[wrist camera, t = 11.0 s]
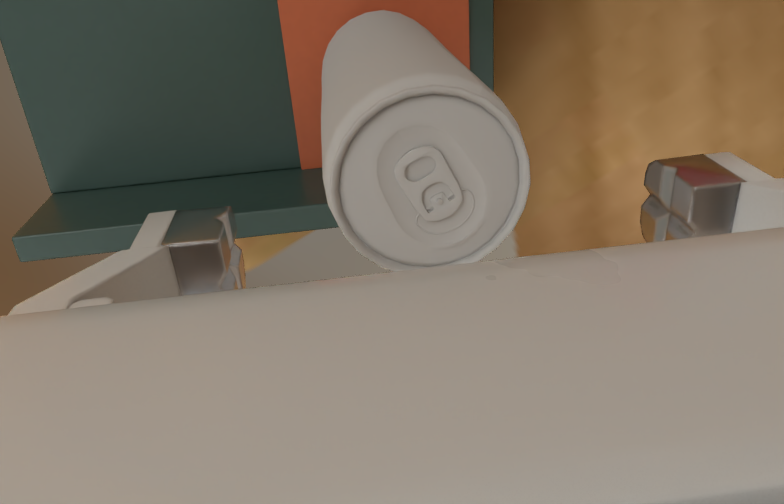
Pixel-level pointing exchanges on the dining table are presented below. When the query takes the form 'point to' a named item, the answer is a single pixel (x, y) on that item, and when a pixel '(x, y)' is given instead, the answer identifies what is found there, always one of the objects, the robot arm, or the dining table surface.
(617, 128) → the dining table surface
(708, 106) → the dining table surface
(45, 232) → the dark green box
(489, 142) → the beverage can
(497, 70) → the dining table surface
